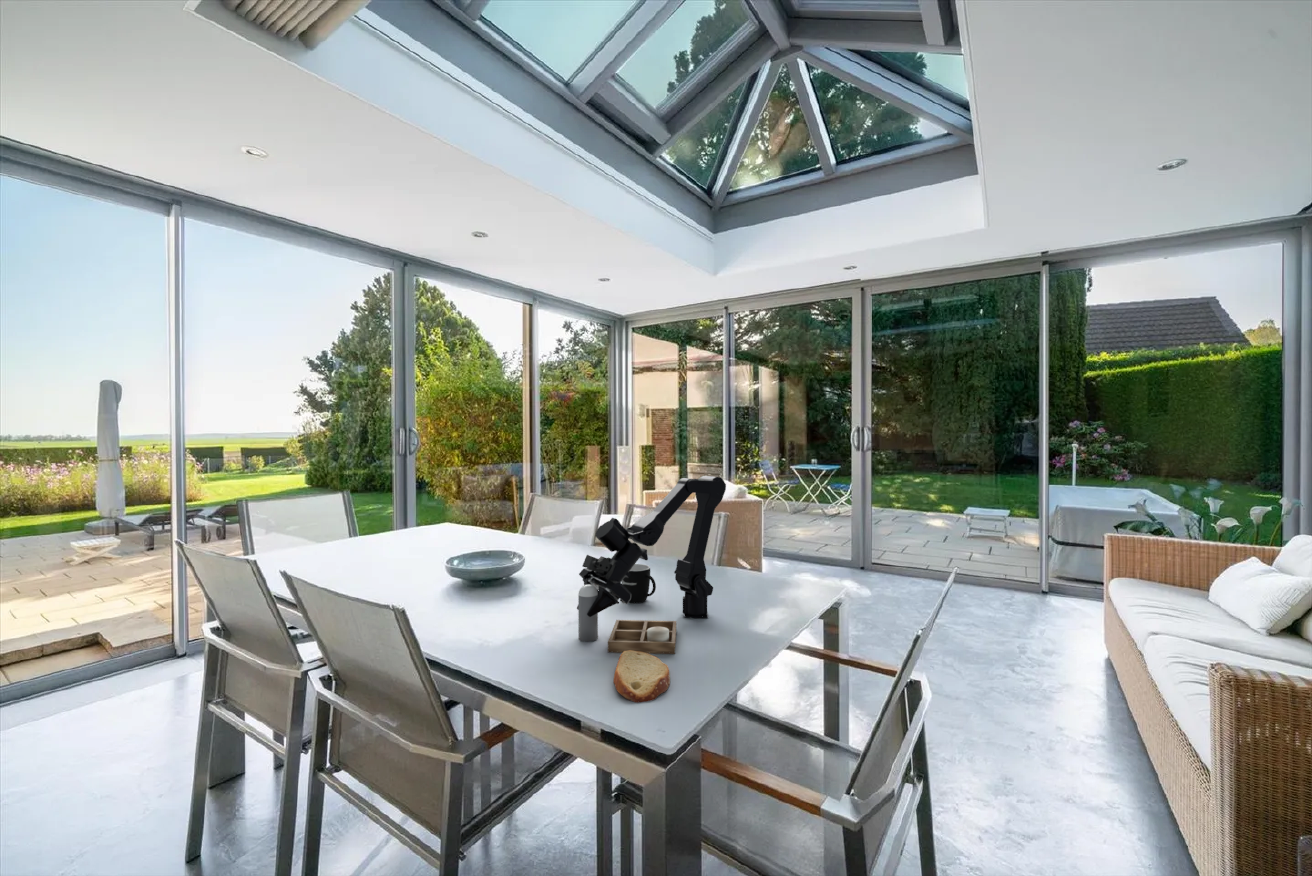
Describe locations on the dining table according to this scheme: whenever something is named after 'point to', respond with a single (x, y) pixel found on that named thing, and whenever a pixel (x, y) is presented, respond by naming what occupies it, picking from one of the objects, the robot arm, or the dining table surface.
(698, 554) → the robot arm
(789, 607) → the dining table surface
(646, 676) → the slice of bread
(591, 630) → the grey rounded cylinder
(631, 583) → the mug
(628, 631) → the caddy
